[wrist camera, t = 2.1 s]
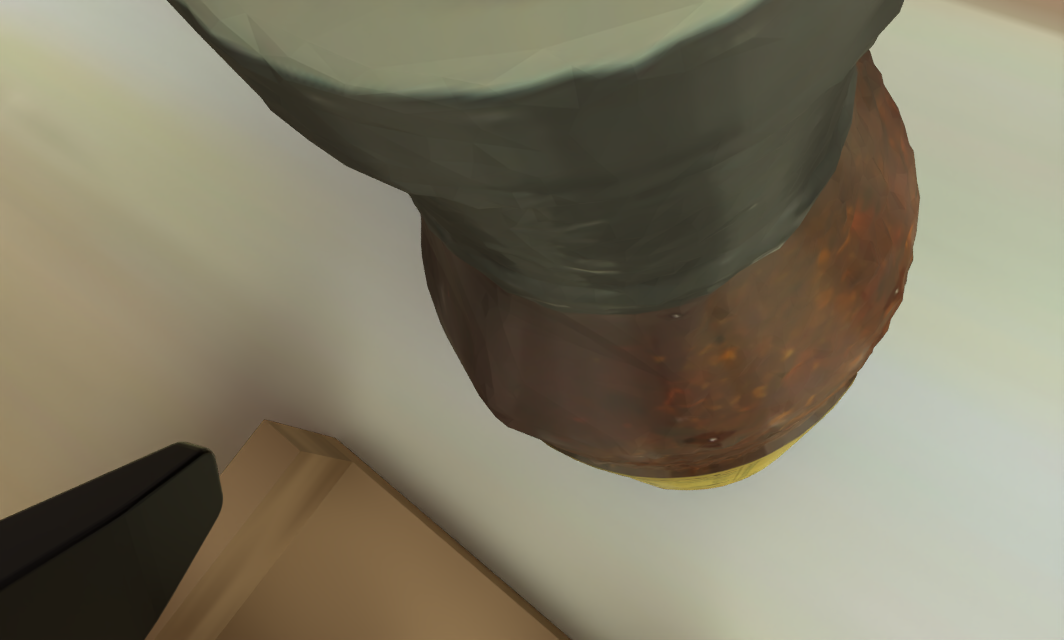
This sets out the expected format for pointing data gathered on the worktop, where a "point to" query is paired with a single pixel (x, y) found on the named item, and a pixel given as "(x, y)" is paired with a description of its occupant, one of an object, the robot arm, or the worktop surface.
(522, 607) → the box
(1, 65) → the worktop surface
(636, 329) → the sauce bottle
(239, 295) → the worktop surface
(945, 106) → the worktop surface
